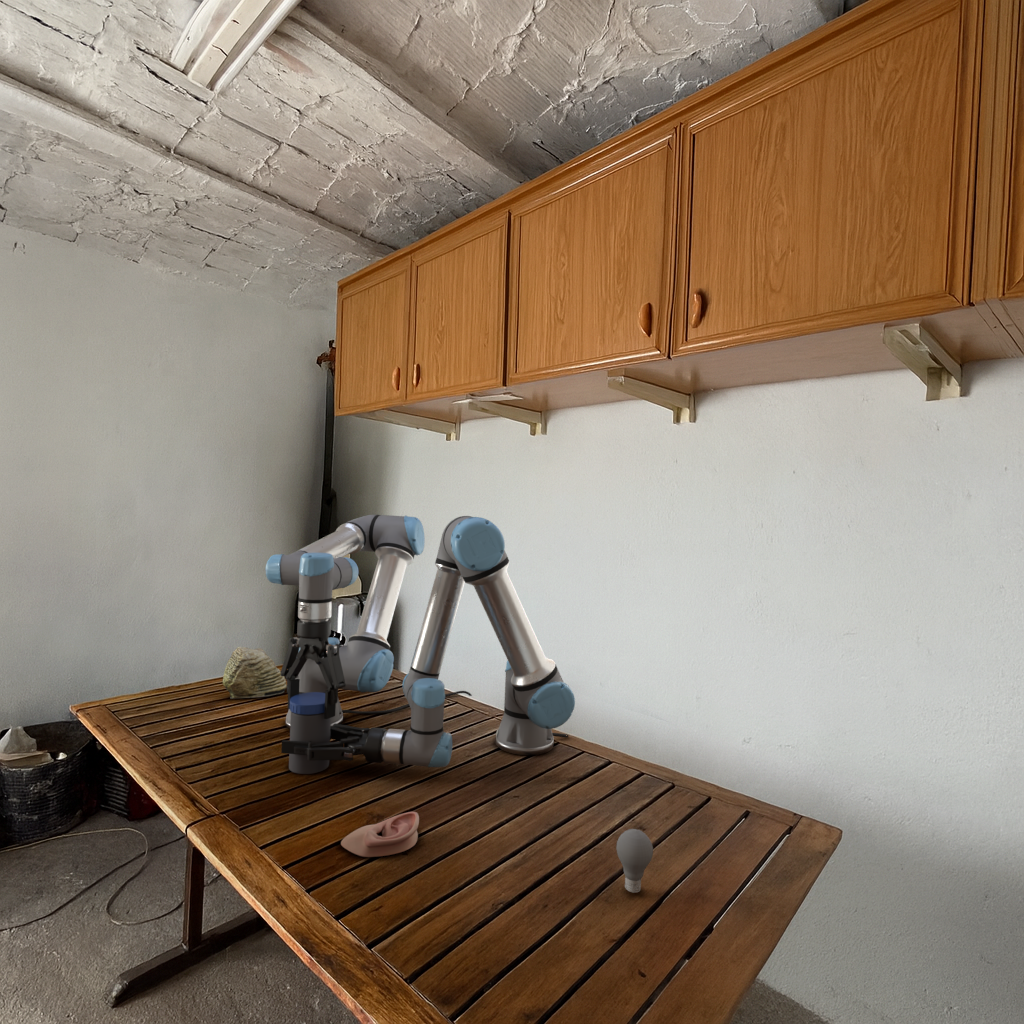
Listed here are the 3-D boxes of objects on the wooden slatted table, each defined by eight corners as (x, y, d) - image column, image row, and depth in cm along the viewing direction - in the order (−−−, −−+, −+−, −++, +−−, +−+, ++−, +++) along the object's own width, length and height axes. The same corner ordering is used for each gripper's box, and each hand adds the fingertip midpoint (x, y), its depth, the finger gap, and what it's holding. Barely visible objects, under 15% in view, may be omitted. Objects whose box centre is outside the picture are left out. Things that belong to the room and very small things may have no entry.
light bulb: (610, 879, 108) (613, 822, 108) (644, 879, 109) (647, 822, 109) (619, 902, 102) (622, 840, 102) (655, 901, 103) (658, 840, 103)
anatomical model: (333, 830, 113) (361, 800, 124) (332, 852, 113) (360, 820, 124) (403, 841, 110) (425, 810, 122) (402, 863, 110) (424, 830, 122)
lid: (285, 714, 143) (285, 705, 143) (294, 700, 153) (294, 692, 153) (329, 714, 144) (329, 705, 144) (335, 701, 154) (336, 692, 154)
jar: (295, 757, 153) (297, 694, 153) (332, 758, 153) (335, 695, 153) (283, 773, 144) (286, 706, 144) (324, 774, 144) (326, 707, 144)
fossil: (218, 695, 195) (220, 647, 195) (278, 685, 208) (279, 640, 207) (228, 703, 189) (230, 653, 188) (289, 692, 201) (290, 645, 201)
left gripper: (266, 615, 150) (263, 706, 151) (340, 628, 139) (337, 727, 140) (291, 610, 157) (288, 698, 157) (364, 623, 146) (360, 717, 146)
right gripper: (370, 782, 136) (269, 774, 138) (396, 743, 158) (309, 737, 160) (371, 747, 136) (270, 740, 138) (398, 714, 158) (310, 707, 160)
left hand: (311, 712), depth 148 cm, fingers open, 11 cm apart
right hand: (291, 738), depth 149 cm, fingers closed on jar, 9 cm apart
